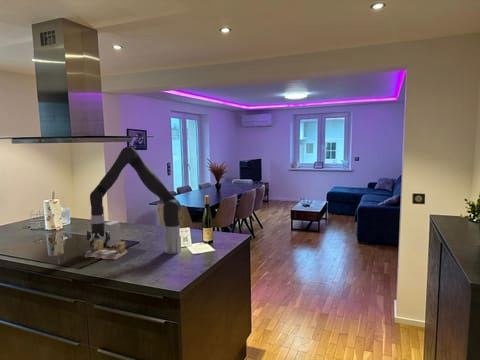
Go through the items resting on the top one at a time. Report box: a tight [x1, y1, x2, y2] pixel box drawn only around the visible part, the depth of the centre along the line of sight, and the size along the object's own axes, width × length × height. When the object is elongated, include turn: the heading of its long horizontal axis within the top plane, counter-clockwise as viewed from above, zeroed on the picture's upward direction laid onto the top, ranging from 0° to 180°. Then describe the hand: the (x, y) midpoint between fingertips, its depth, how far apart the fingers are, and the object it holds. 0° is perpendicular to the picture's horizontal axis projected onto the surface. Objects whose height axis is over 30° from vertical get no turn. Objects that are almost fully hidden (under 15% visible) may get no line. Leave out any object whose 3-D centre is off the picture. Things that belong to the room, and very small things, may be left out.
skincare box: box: [104, 220, 122, 248], centre depth 210 cm, size 8×7×16 cm
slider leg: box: [91, 239, 103, 251], centre depth 193 cm, size 3×8×6 cm, turn 170°
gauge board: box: [84, 241, 128, 260], centre depth 192 cm, size 20×13×8 cm, turn 80°
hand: (98, 247), depth 195 cm, fingers open, 8 cm apart
